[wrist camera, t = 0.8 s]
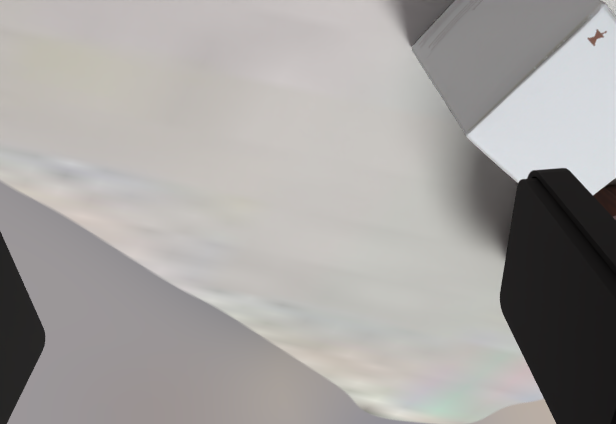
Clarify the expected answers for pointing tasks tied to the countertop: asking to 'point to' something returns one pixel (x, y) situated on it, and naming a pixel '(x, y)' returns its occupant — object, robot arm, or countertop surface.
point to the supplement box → (530, 82)
